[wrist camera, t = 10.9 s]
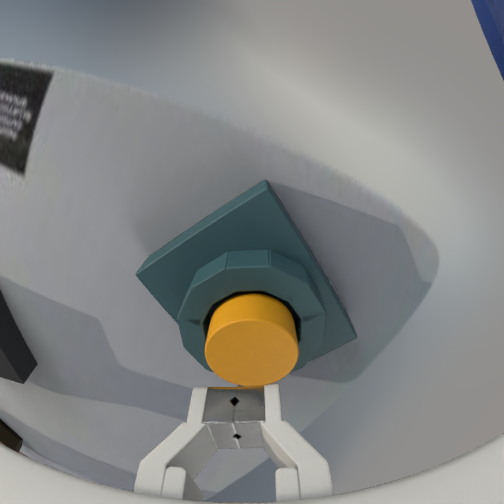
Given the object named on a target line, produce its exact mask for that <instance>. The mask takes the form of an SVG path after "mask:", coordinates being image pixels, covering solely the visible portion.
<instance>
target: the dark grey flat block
mask: <svg viewBox="0 0 504 504" xmlns="http://www.w3.org/2000/svg"><path fill="white" fill-rule="evenodd" d="M36 366H37V362H36V361H35V359H34V357H33V356H32V354H31V352H30V350H29V349H28V347H27V345H26V343H25V341H24V339H23V338H22V336H21V334H20V332H19V330H18V328H17V326H16V324H15V322H14V320H13V318H12V316H11V314H10V311H9V309H8V307H7V305H6V303H5V300H4V298H3V296H2V293H1V291H0V377H2V378H6V379H9V380H12V381H15V382H18V383H22V384H24V383H25V381H26V380H27V378H28V377H29V376H30V374H31V373H32V371H33V370H34V368H35V367H36Z"/></svg>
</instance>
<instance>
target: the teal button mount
mask: <svg viewBox="0 0 504 504" xmlns="http://www.w3.org/2000/svg"><path fill="white" fill-rule="evenodd" d="M136 276H137V277H138V279H139V280H140V281H141V282H142V283H143V285H144V286H145V287H146V288H147V289H148V291H149V292H150V293H151V294H152V295H153V296H154V298H155V299H156V300H157V301H158V302H159V303H160V304H161V306H162V307H163V308H164V309H165V310H166V311H167V312H168V314H169V315H170V316H171V317H172V318H173V319H174V320H175V321H176V322H177V324H178V325H179V329H180V333H181V337H182V341H183V345H184V347H185V349H186V350H187V351H188V352H189V353H190V354H191V355H192V356H193V357H194V358H195V359H196V360H197V361H198V362H199V363H200V364H201V365H202V366H203V367H204V368H205V369H207V370H209V371H211V372H214V371H213V370H212V369H211V368H210V366H209V365H208V363H207V361H206V357H205V344H206V340H207V335H208V330H209V326H210V321H211V317H212V315H213V313H214V311H215V310H216V308H217V307H218V306H219V305H220V304H221V303H223V302H224V301H226V300H227V299H229V298H231V297H233V296H236V295H240V294H246V293H258V294H264V295H268V296H270V297H273V298H275V299H277V300H278V301H280V302H281V303H283V304H284V305H285V306H286V307H287V308H288V310H289V311H290V313H291V314H292V317H293V319H294V324H295V330H296V336H297V342H298V348H299V356H298V360H297V363H296V365H295V366H294V368H293V369H292V371H291V372H293V371H295V370H298V369H300V368H302V367H303V366H304V365H305V364H306V363H307V362H309V361H311V360H313V359H315V358H317V357H319V356H322V355H324V354H326V353H328V352H330V351H332V350H334V349H336V348H338V347H340V346H342V345H344V344H345V343H347V342H349V341H351V340H353V339H355V338H357V334H356V332H355V330H354V327H353V325H352V323H351V320H350V318H349V316H348V314H347V312H346V310H345V309H344V307H343V305H342V303H341V302H340V300H339V298H338V296H337V295H336V293H335V291H334V289H333V288H332V286H331V284H330V282H329V281H328V279H327V277H326V275H325V274H324V272H323V270H322V269H321V267H320V265H319V264H318V262H317V260H316V259H315V257H314V255H313V253H312V252H311V250H310V248H309V247H308V245H307V244H306V242H305V240H304V239H303V237H302V235H301V234H300V232H299V230H298V229H297V227H296V226H295V224H294V222H293V221H292V219H291V217H290V216H289V214H288V213H287V211H286V210H285V208H284V206H283V205H282V203H281V202H280V200H279V198H278V197H277V195H276V194H275V192H274V191H273V189H272V188H271V186H270V184H269V183H268V181H267V180H264V181H262V182H260V183H259V184H257V185H256V186H254V187H252V188H251V189H249V190H248V191H246V192H244V193H243V194H241V195H240V196H238V197H237V198H235V199H233V200H232V201H230V202H229V203H227V204H226V205H224V206H223V207H221V208H220V209H218V210H216V211H215V212H213V213H212V214H210V215H209V216H207V217H206V218H204V219H203V220H201V221H200V222H198V223H197V224H195V225H194V226H192V227H191V228H189V229H188V230H186V231H185V232H183V233H182V234H180V235H179V236H178V237H176V238H175V239H173V240H172V241H170V242H169V243H167V244H166V245H165V246H163V247H162V248H160V249H159V250H157V251H156V252H155V253H153V254H152V255H150V256H149V257H148V258H147V259H146V261H145V262H144V263H143V264H142V266H141V267H140V268H139V270H138V271H137V272H136ZM291 372H290V373H291ZM238 386H240V387H241V386H242V385H238Z"/></svg>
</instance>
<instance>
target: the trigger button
mask: <svg viewBox="0 0 504 504" xmlns="http://www.w3.org/2000/svg"><path fill="white" fill-rule="evenodd" d="M298 356H299V348H298V342H297V336H296V330H295V324H294V319H293V317H292V314H291V313H290V311H289V310H288V308H287V307H286V306H285V305H284V304H283V303H281V302H280V301H278V300H277V299H275V298H273V297H270V296H268V295H264V294H258V293H246V294H240V295H236V296H233V297H231V298H229V299H227V300H226V301H224V302H223V303H221V304H220V305H219V306H218V307H217V308H216V310H215V311H214V313H213V315H212V317H211V321H210V326H209V330H208V335H207V340H206V344H205V357H206V361H207V363H208V365H209V366H210V368H211V369H212V370H213V371H214V373H216V374H217V375H218V376H219V377H221V378H222V379H224V380H226V381H228V382H231V383H234V384H237V385H242V386H257V385H267V384H271V383H274V382H276V381H278V380H280V379H282V378H284V377H285V376H286V375H288V374H289V373H290V372H291V371H292V369H293V368H294V366H295V365H296V363H297V360H298Z"/></svg>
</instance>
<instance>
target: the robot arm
mask: <svg viewBox="0 0 504 504" xmlns="http://www.w3.org/2000/svg"><path fill="white" fill-rule="evenodd" d="M234 448H264V450H265V451H266V452H267V454H268V455H269V456H270V457H271V459H272V460H273V461H274V463H275V464H276V465H277V466H278V468H279V469H278V470H277V471H276V502H262V503H220V502H203V501H202V500H203V494H202V492H201V491H200V489H199V488H198V487H197V485H196V484H195V483H194V481H193V480H194V478H195V477H196V476H197V475H198V473H199V472H200V471H201V470H202V469H203V467H204V466H205V465H206V463H207V462H208V461H209V460H210V458H211V457H212V456H213V455H214V453H215V452H216V451H217V449H234ZM0 504H504V433H503V434H501V435H499V436H497V437H496V438H494V439H492V440H490V441H489V442H487V443H485V444H483V445H481V446H479V447H477V448H475V449H473V450H471V451H469V452H467V453H465V454H463V455H461V456H458V457H456V458H454V459H452V460H450V461H447V462H445V463H442V464H440V465H438V466H435V467H433V468H430V469H427V470H425V471H422V472H419V473H416V474H413V475H410V476H408V477H404V478H401V479H398V480H395V481H391V482H388V483H384V484H381V485H377V486H373V487H369V488H365V489H361V490H356V491H352V492H347V493H342V494H336V495H333V489H332V483H331V477H330V471H329V465H328V461H326V459H324V458H323V457H322V456H321V455H320V454H319V453H318V452H317V451H316V450H315V449H314V448H313V447H312V446H311V445H310V444H309V443H308V442H307V441H306V440H305V439H304V438H303V437H302V436H301V435H300V434H299V433H298V432H297V431H296V430H295V429H294V428H293V427H292V426H291V425H290V424H289V423H288V422H287V421H282V412H281V400H280V389H279V384H274V385H257V386H241V387H194V389H193V391H192V397H191V402H190V407H189V412H188V418H187V423H182V424H181V425H180V426H179V427H177V428H176V429H175V430H174V431H173V432H172V433H171V434H170V435H169V436H168V437H167V438H166V439H165V440H164V441H163V442H161V443H160V444H159V445H158V446H157V447H156V448H155V449H154V450H153V451H152V452H150V453H149V454H148V455H147V456H146V457H145V458H144V459H143V460H141V462H140V466H139V469H138V473H137V477H136V481H135V485H134V489H133V492H132V491H127V490H123V489H119V488H114V487H111V486H107V485H103V484H99V483H96V482H92V481H89V480H86V479H83V478H80V477H77V476H74V475H71V474H68V473H65V472H62V471H60V470H57V469H54V468H52V467H49V466H47V465H44V464H42V463H40V462H37V461H35V460H33V459H31V458H28V457H26V456H24V455H22V454H20V453H18V452H16V451H14V450H12V449H10V448H8V447H6V446H4V445H2V444H0Z"/></svg>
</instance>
